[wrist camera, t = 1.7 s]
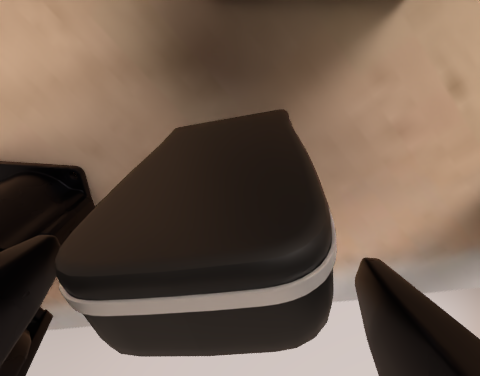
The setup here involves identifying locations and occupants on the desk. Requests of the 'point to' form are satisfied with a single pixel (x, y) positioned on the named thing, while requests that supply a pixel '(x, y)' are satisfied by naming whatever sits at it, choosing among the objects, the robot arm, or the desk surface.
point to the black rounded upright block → (208, 246)
